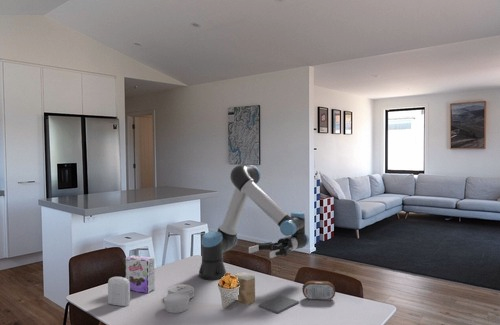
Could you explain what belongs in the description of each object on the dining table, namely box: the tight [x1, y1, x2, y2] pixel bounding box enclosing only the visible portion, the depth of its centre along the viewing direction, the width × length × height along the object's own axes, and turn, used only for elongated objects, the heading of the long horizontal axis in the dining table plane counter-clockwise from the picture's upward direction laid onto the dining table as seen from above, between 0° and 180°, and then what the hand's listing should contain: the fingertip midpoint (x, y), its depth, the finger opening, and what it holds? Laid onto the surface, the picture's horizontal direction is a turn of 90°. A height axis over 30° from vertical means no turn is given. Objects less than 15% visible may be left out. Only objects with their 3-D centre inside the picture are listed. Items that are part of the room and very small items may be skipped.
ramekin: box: [163, 293, 191, 314], centre depth 161 cm, size 11×11×5 cm
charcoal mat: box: [258, 294, 300, 314], centre depth 165 cm, size 11×15×1 cm
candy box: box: [124, 255, 156, 294], centre depth 184 cm, size 14×6×16 cm, turn 68°
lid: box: [166, 283, 195, 299], centre depth 175 cm, size 13×13×5 cm
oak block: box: [234, 271, 256, 306], centre depth 169 cm, size 8×5×12 cm, turn 46°
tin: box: [302, 280, 336, 301], centre depth 170 cm, size 15×3×8 cm, turn 84°
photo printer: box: [107, 276, 131, 307], centre depth 167 cm, size 10×4×12 cm, turn 72°
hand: (259, 252), depth 176 cm, fingers open, 13 cm apart
